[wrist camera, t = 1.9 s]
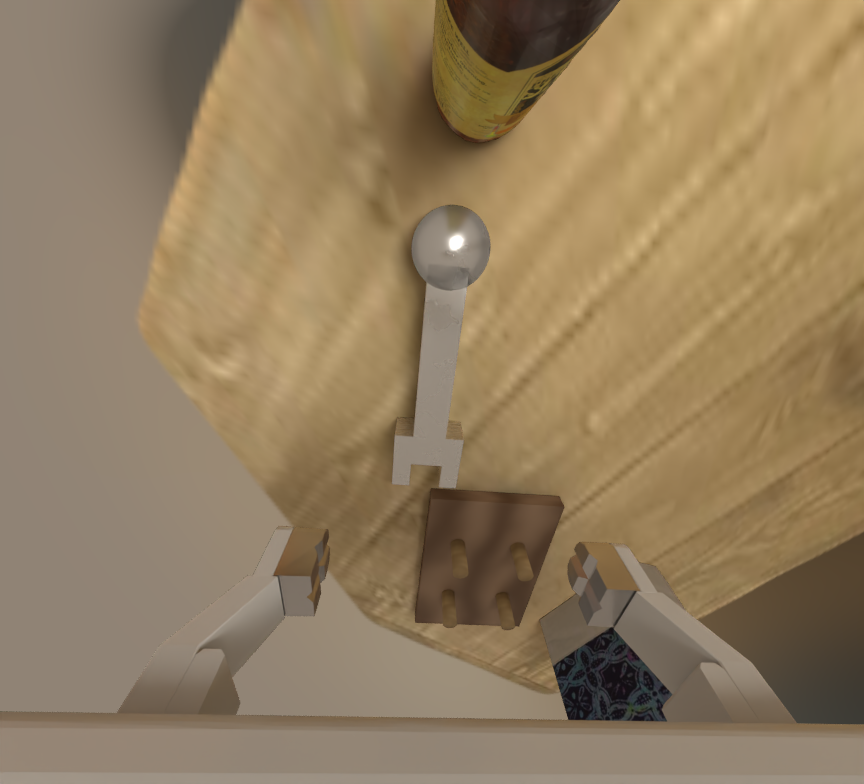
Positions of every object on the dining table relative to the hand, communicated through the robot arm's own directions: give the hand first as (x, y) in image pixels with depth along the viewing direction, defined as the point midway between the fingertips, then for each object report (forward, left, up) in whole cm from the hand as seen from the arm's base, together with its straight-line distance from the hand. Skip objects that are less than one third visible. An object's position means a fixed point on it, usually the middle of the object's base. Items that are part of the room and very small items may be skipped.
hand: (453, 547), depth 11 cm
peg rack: (-8, +26, -19) cm, 34 cm away
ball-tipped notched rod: (0, 0, -19) cm, 19 cm away
